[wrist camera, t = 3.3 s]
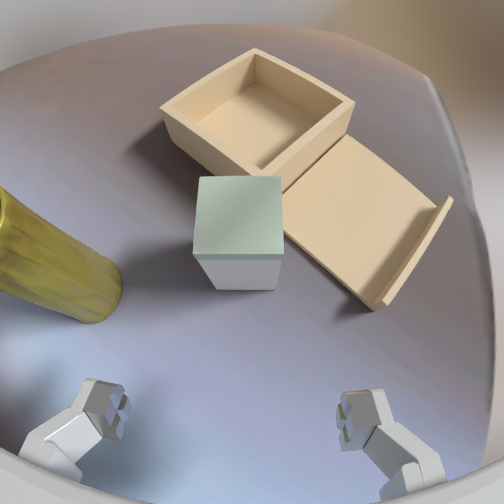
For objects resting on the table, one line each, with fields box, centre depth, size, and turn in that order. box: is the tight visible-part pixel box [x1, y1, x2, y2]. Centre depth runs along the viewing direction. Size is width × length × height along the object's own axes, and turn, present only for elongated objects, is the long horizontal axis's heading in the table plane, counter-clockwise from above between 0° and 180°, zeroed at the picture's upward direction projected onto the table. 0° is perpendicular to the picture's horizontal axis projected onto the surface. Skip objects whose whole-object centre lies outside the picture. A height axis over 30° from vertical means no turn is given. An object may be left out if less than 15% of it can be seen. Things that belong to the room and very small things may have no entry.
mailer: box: [159, 48, 454, 312], centre depth 25 cm, size 24×12×5 cm, turn 46°
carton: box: [193, 176, 284, 290], centre depth 20 cm, size 4×4×9 cm
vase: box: [0, 186, 122, 324], centre depth 17 cm, size 6×6×14 cm
